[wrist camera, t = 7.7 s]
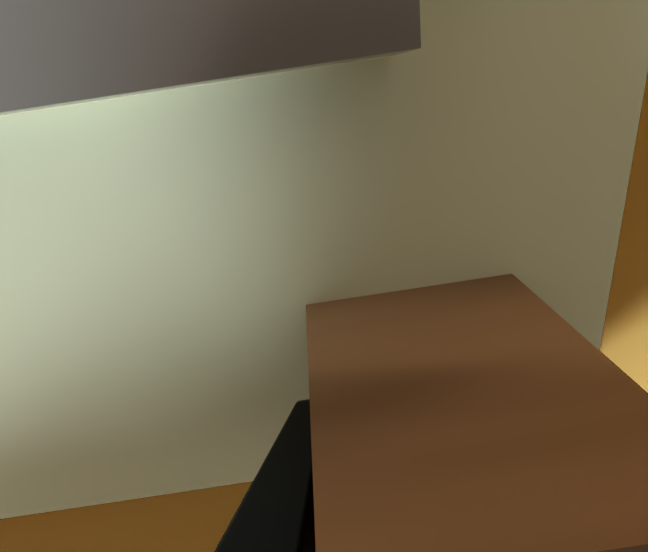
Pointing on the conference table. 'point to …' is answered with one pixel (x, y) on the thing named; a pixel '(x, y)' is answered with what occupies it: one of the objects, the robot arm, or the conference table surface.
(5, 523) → the conference table surface
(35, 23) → the tile
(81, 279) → the mat
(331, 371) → the block
